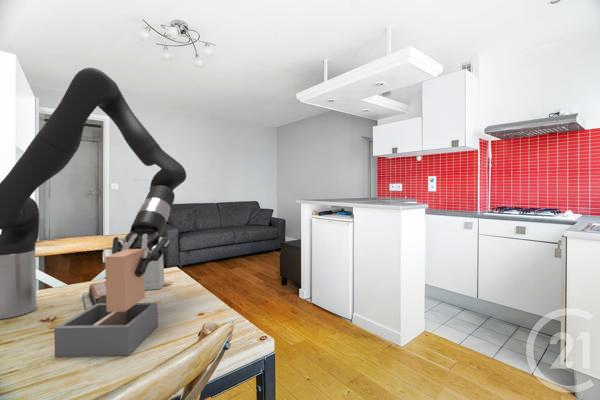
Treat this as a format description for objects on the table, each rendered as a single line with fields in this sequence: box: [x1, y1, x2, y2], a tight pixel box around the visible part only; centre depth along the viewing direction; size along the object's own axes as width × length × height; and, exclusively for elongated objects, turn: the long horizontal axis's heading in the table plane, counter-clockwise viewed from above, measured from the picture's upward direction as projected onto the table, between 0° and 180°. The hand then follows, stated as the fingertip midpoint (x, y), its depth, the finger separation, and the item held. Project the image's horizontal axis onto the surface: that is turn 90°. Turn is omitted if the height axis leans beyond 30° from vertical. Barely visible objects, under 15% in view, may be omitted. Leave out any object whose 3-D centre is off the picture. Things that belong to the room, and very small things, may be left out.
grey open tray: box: [53, 302, 159, 358], centre depth 65 cm, size 15×13×6 cm
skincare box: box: [144, 244, 166, 291], centre depth 101 cm, size 8×6×15 cm
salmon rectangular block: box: [104, 249, 146, 312], centre depth 65 cm, size 4×8×12 cm, turn 2°
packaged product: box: [81, 280, 106, 311], centre depth 88 cm, size 18×5×10 cm
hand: (127, 275), depth 66 cm, fingers closed on salmon rectangular block, 4 cm apart
